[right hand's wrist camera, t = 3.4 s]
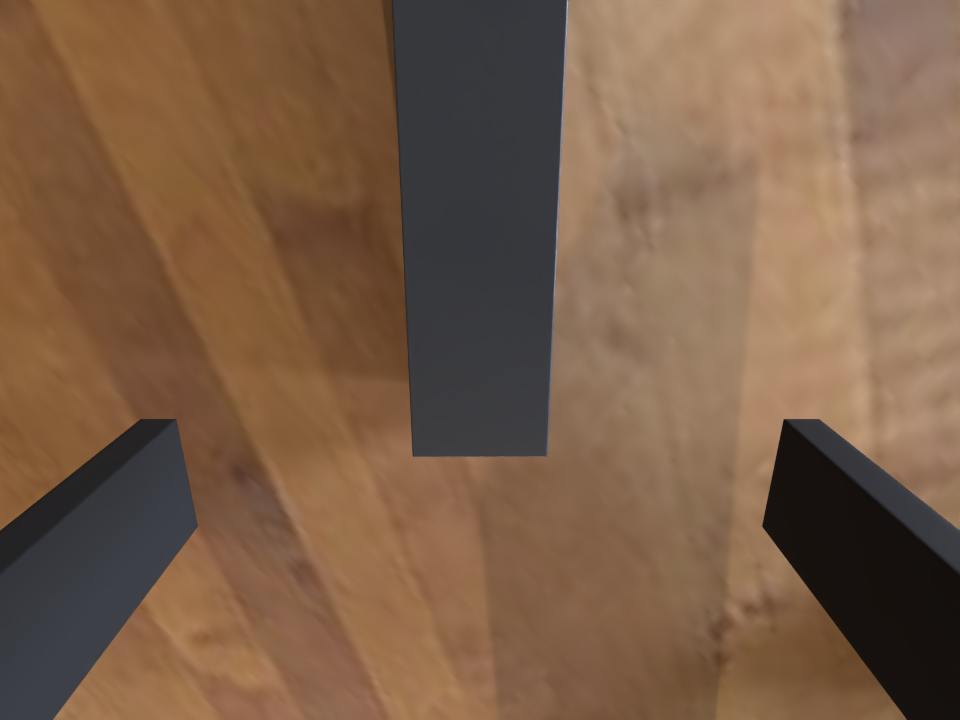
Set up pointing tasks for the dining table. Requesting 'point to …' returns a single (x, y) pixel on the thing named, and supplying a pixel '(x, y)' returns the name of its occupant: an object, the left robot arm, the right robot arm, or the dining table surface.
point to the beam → (480, 218)
